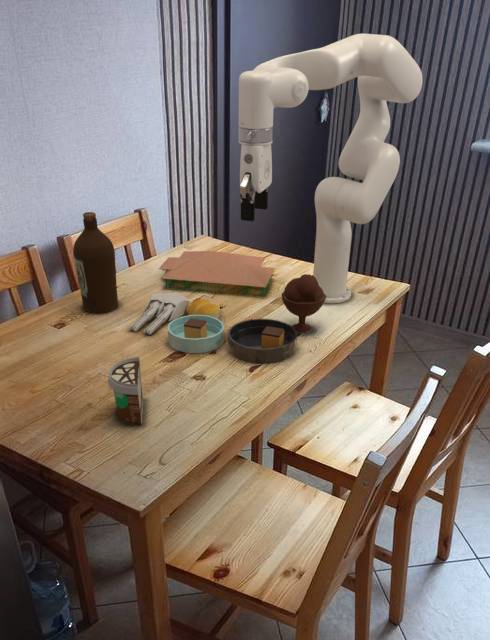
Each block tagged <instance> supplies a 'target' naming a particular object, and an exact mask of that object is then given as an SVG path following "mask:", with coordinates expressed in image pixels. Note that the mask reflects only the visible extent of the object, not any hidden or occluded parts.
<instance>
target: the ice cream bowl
mask: <svg viewBox="0 0 490 640" xmlns="http://www.w3.org/2000/svg"><path fill="white" fill-rule="evenodd" d="M280 294H281V295H280V296H281V300H282V303H283V305H284V306H285V308H286V310H287V311H288V312H289V313H290V314H292V315H294V316H297V317H298V321H297V322H298V323H295V324H293V325H291V326H292V327H293V328H294V329H295V330H296V332H297V334H298V333H299V334H305V333H309V332H311V331H312V330H313V328H312V326H311V325H310V324H308V323H306V320H307V319H306V318H307V317H310V316H312V315H315V314H316V313H317V312H319V310H320V309H321V308H322V307H323V306H324V304H325V303H324V302H325V299H326V295H325V294H324V292H323V290H322V288H321V287H320V286H319V284H318V281H317V279H316V278H315V277H314V276H313V274H310V273H307V274H306V273H305V274H302V275H300V276H299V277H296V278H292V279H291V280H290V281H289V282H288V283H287V284H286V285H285V287H284V290H283V292H282V293H280Z"/></svg>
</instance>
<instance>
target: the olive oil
mask: <svg viewBox="0 0 490 640" xmlns="http://www.w3.org/2000/svg"><path fill="white" fill-rule="evenodd" d="M96 214H97V213H96V212H94V211H86V212H84V213H82V217H83V219H82V221H83V227H84V228H83V230H82V232H81V233H80V234H79V236H78V237H77V238H76V239H75V241H74V244H73V248H72V250H73V251H72V255H73V259H74V264H75V271H76V275H77V280H78V285H79V291H80V295H81V301H82V307H83V309H84V310H85V311H86V312H88V313H93V314H105V313H110V312H112V311H114V310H116V309H117V308H118V306H119V300H118V298H119V297H118V285H117V269H116V268H117V267H116V251H115V247H114V244H113V242H112V240H111V238H109V236H107V235H106V234H105V233H104V232H103V231H101V230H100V228H99V227H98V218H96V217H97V215H96Z"/></svg>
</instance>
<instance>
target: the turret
mask: <svg viewBox="0 0 490 640" xmlns="http://www.w3.org/2000/svg"><path fill="white" fill-rule="evenodd" d="M146 304H147V305H145V308H144V310H143V312H142V315H141V316H140V317H139V318H137V320H136V321H134V322H133V324H131V325H130V327H129V328H128V330H129V331H132V332H133V331H134V332H138V331H139V330H140V329H141V328H142V327H144V325H145V324H146V323H147V322H149V321H152V320H153V321H152V322H151V323H150V324H149V325H148V326H147V327H146V328H145V329H144V331H143V335H144V334H146V335H149V336H151V335H153V334H154V332H155V331H156V330H157V329H158V328H160V327H161V325H163V324H166V323H167V322H171V321H173V320H175V319H176V318H179V317H183V316H184V314H185V312H187V309H188V307H189V305H190V304H191V300H190V299H188V298H187V297H186V296H185V295H183V294H181V292H165V293H152V294H151V295H150V298H149V300H148V302H147V303H146Z"/></svg>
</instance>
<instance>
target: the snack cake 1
mask: <svg viewBox="0 0 490 640" xmlns="http://www.w3.org/2000/svg"><path fill="white" fill-rule="evenodd" d="M205 337H207V321H205V320H199V319H193V318H190V319H189V320H188V321H187V322H186V323H185V324H184V338H194V339H197V338H205Z"/></svg>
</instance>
